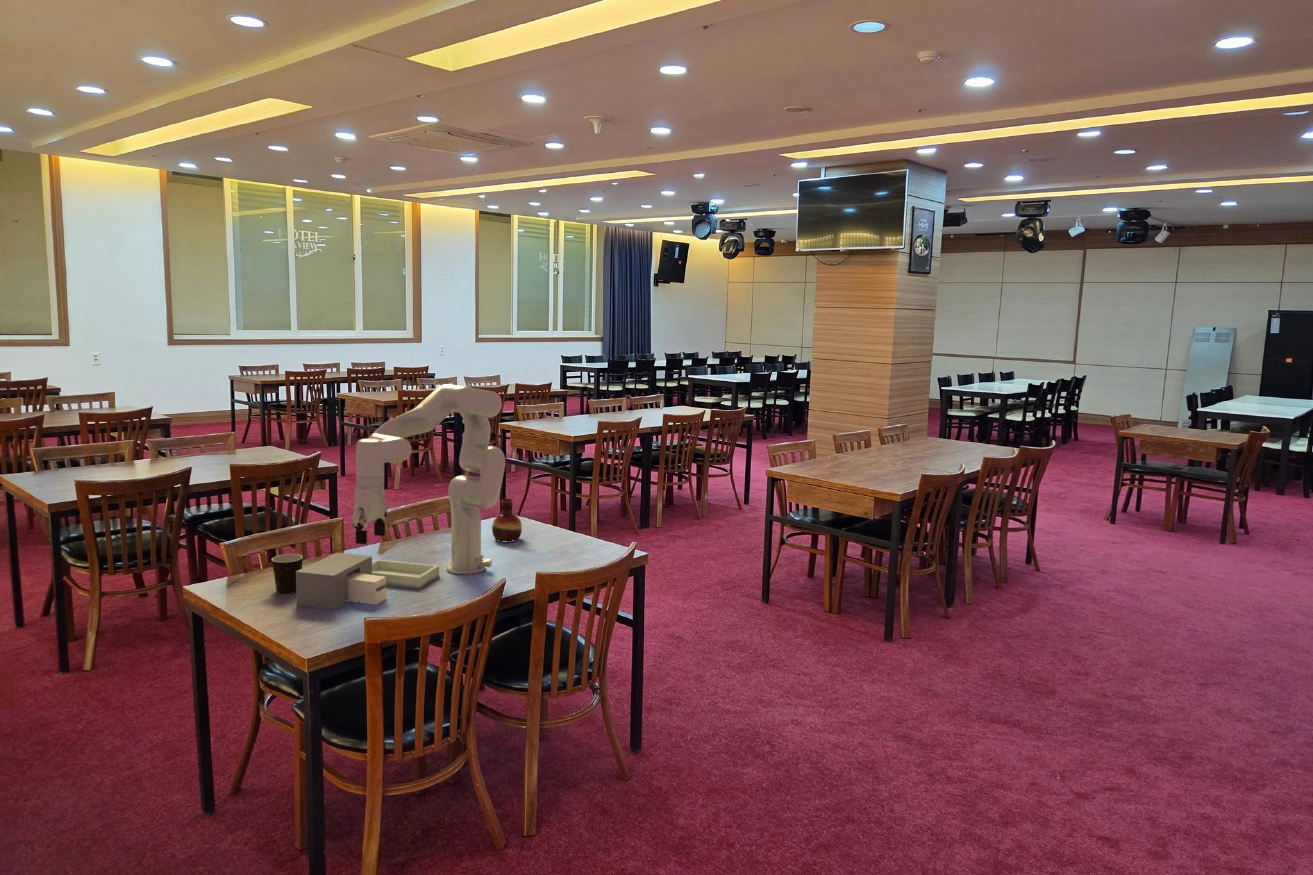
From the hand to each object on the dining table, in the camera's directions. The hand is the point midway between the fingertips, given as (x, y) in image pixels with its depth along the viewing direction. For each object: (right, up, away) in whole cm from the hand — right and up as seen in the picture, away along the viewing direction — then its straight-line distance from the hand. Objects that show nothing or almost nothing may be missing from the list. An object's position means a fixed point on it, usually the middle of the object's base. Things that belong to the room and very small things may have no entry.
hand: (370, 539), depth 241 cm
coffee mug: (-28, -17, +8) cm, 34 cm away
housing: (-12, -18, +5) cm, 22 cm away
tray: (+1, -15, +23) cm, 28 cm away
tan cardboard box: (-4, -18, +4) cm, 19 cm away
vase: (+27, -9, +72) cm, 78 cm away
